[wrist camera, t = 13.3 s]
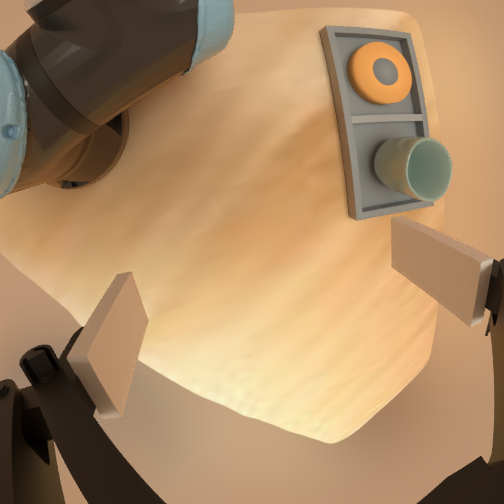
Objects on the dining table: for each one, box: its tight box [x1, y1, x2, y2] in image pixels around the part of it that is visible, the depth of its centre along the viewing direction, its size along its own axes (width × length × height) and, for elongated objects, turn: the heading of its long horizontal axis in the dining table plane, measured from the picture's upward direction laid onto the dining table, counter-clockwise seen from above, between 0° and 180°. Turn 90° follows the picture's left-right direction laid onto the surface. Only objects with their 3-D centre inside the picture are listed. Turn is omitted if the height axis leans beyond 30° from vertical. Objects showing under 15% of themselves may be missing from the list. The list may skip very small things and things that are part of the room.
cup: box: [374, 136, 452, 202], centre depth 36 cm, size 8×8×10 cm
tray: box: [320, 26, 434, 221], centre depth 38 cm, size 27×14×2 cm, turn 10°
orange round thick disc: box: [347, 42, 412, 105], centre depth 35 cm, size 9×9×3 cm
